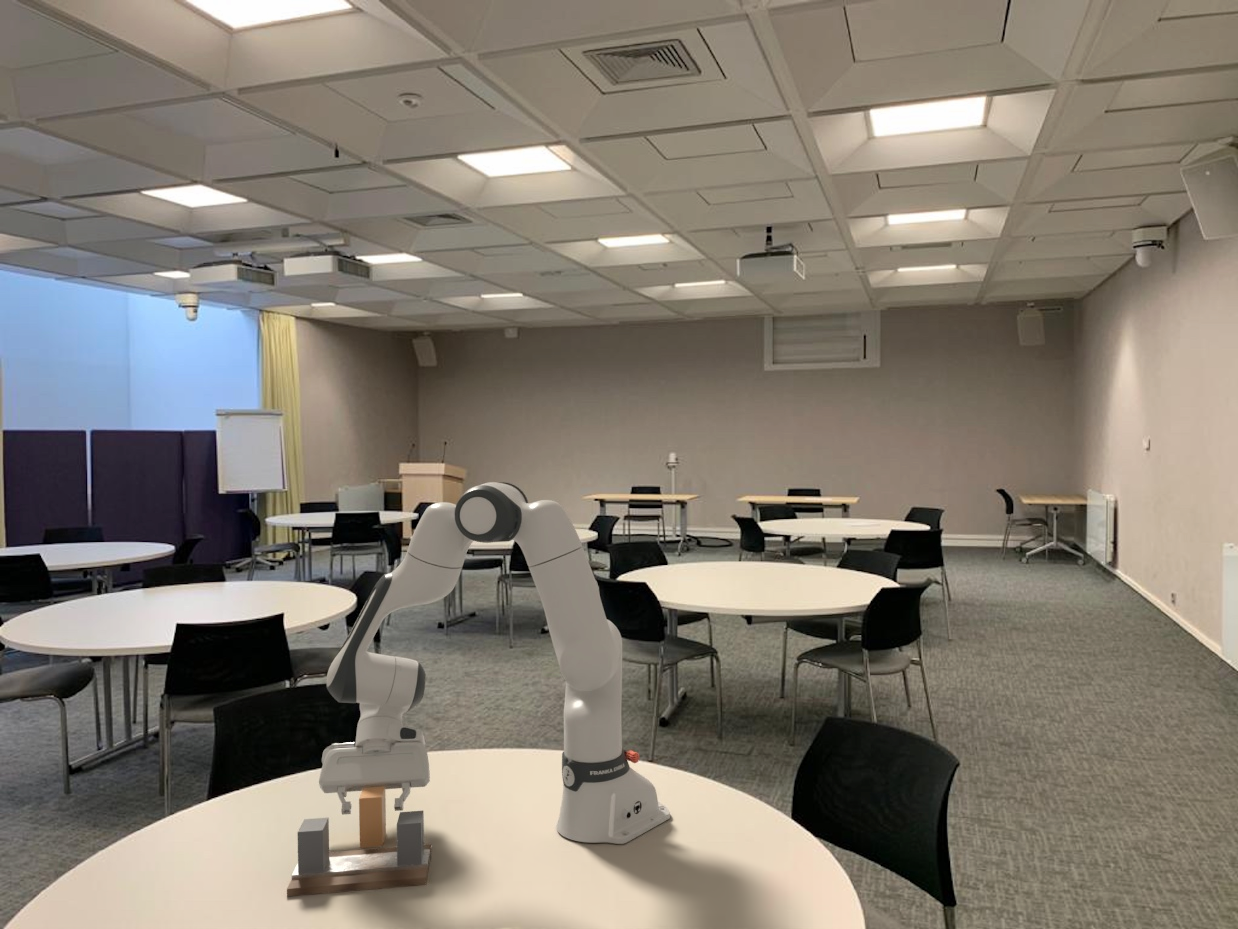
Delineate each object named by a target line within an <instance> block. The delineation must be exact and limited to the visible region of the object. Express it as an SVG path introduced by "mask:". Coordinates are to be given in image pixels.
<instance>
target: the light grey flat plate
mask: <svg viewBox="0 0 1238 929" xmlns="http://www.w3.org/2000/svg"><path fill="white" fill-rule="evenodd" d="M429 856H430V849H425V850H424V853H423V859H422V864H414V865H402V866H397V852H388V853H376V854H363V855H351V856H338V857H329V860H328V862H327V864H326V867H325V869H324V872H318V873H306V874H298V862H297V863H296V866H295V867H294V870H293V872H292V874H291V879H298V878H310V877H322V876H333V875H345V874H357V873H369V872H381V871H393V870H405V869H417V868H428V862H429Z"/></svg>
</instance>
